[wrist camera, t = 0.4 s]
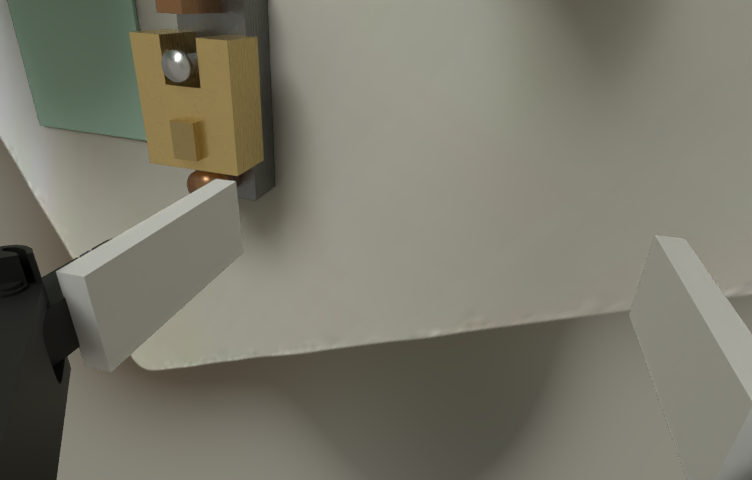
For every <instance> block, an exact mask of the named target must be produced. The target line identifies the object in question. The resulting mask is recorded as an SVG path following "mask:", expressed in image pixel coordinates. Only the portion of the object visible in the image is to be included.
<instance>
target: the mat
mask: <svg viewBox="0 0 752 480" xmlns="http://www.w3.org/2000/svg"><path fill="white" fill-rule="evenodd" d="M7 1H8V5H9V9H10V13H11V17H12V20H13V24H14V28H15V32H16V36H17V40H18V43H19V47H20V51H21V55H22V59H23V62H24V66H25V70H26V74H27V78H28V82H29V85H30V89H31V93H32V97H33V101H34V104H35V108H36V112H37V116H38V120H39V124H40V125H41V126H48V127H55V128H62V129H69V130H76V131H83V132H90V133H97V134H104V135H111V136H118V137H126V138H133V139H140V140H147V139H146V133H145V126H144V120H143V114H142V108H141V102H140V96H139V90H138V84H137V78H136V71H135V65H134V59H133V53H132V47H131V41H130V35H129V32H135V31H139V25H138V19H137V12H136V6H135V0H7Z"/></svg>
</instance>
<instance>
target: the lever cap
mask: <svg viewBox="0 0 752 480" xmlns="http://www.w3.org/2000/svg"><path fill="white" fill-rule="evenodd" d="M129 35H130V41H131V47H132V53H133V59H134V65H135V71H136V78H137V84H138V90H139V96H140V102H141V108H142V114H143V120H144V126H145V133H146V139H147V145H148V151H149V157H150V163H155V164H161V165H168V166H174V167H181V168H188V169H194V170H201V171H207V172H214V173H221V174H227V175H234V176H239V175H240V174H242V173H244V172H245V171H247V170H249V169H250V168H252V167H253V166H255V165H257V164H258V163H260V162H262V161H263V160H264V153H263V134H262V115H261V96H260V77H259V58H258V39H257V37H255V36H243V35H231V34H226V35H217V36H208V37H198V38H196V36H195V31H185V30H173V29H162V30H149V31H135V32H129ZM170 50H181V51H183V52H185V53H186V54H191V53H197V57H198V67H199V72H197V73H192V76H191V77H190V79H188V80H187V81H183V82H173V81H171V80H170V79H168V78H167V77H166V75H165V74H164V72H163V70H162V66H161V59H162V56H163V54H164V53H165V52H167V51H170Z"/></svg>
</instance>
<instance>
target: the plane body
mask: <svg viewBox="0 0 752 480" xmlns="http://www.w3.org/2000/svg"><path fill="white" fill-rule="evenodd" d="M155 1H156V8H157V12H160V13H173V14H177V21H178V29H179V30H185V31H195V36H196V38H198V37H208V36H217V35H226V34H231V35H243V36H255V37H257V39H258V58H259V77H260V96H261V115H262V134H263V153H264V160H263V161H262V162H260V163H258V164H257V165H255V166H253V167H252V168H250V169H249V170H247V171H245V172H244V173H242V174H240V175H239V176H234V175H227V174H221V173H214V172H207V171H201V170H195V172H193V173H192V174H191V175H190V176H189V177H188V180H187V187H188V191H189V193H190V194H191V193H192V192H194V191H196V190H198V189H199V188H201V187H203V186H204V185H206V184H208V183H210V182H211V181H213V180H215V179H221V180H229V181H236V186H237V196H238V198H242V199H248V200H255V201H256V200H258V199H259V198H260V197H262V196H263V195H264V194H266V193H267V192H268V191H270V190H271V189H272V188H274V187H275V169H274V145H273V122H272V98H271V75H270V51H269V27H268V4H267V0H155ZM161 66H162V70H163V72H164V74H165V75H166V77H167V78H168V79H170V80H171V81H173V82H183V81H187V80H188V79H190V77H191V76H192V73H197V72H199V67H198V57H197V53H191V54H186V53H185V52H183V51H181V50H170V51H167V52H165V53H164V54H163V56H162V59H161Z"/></svg>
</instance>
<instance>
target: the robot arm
mask: <svg viewBox="0 0 752 480" xmlns="http://www.w3.org/2000/svg"><path fill="white" fill-rule="evenodd" d="M242 253H243V243H242V234H241V224H240V215H239V205H238V196H237V186H236V181H229V180H221V179H215V180H213V181H211V182H210V183H208V184H206V185H204V186H203V187H201V188H199V189H198V190H196V191H194V192H192V193H191V194H189V195H187V196H185V197H184V198H182V199H180V200H179V201H177V202H175V203H173V204H172V205H170V206H168V207H166V208H165V209H163V210H161V211H159V212H158V213H156V214H154V215H153V216H151V217H149V218H147V219H146V220H144V221H142V222H140V223H139V224H137V225H135V226H134V227H132V228H130V229H128V230H127V231H125V232H123V233H121V234H120V235H118V236H116V237H115V238H112V239H109V240H106V241H105V242H103V243H101V244H99V245H98V246H96V247H94V248H93V249H92V251H87V252H86V253H84V254H82V255H80V258H75V259H73V260H72V261H70V262H68V263H66V264H65V265H63V266H61V267H59V268H58V269H56V270H54V271H52V272H51V273H49V274H47V275H46V276H44V277H42V278H41V275H40V272H39V269H38V266H37V262H36V260H35V257H34V254H33V250H32V248H30V247H27V246H23V245H8V246H1V247H0V480H56V478H57V471H58V463H59V456H60V447H61V440H62V433H63V432H62V431H63V425H64V417H65V409H66V402H67V394H68V386H69V378H70V370H71V367H70V363H69V360H68V357H67V356H68V355H69V354H71V353H72V352H73V351H75V350H76V349H77V348H78V347H79V348H80V352H81V355H82V358H83V361H84V365H85V366H87V367H91V368H95V369H99V370H103V371H108V372H112V371H113V370H114V369H115V368H116V367H117V366H118V365H119V364H120V363H122V362H123V361H124V360H125V359H126V358H127V357H128V356H129V355H130V354H132V353H133V352H134V351H135V350H136V349H137V348H138V347H139V346H140V345H141V344H143V343H144V342H145V341H146V340H147V339H148V338H149V337H150V336H151V335H153V334H154V333H155V332H156V331H157V330H158V329H159V328H160V327H161V326H163V325H164V324H165V323H166V322H167V321H168V320H169V319H170V318H171V317H173V316H174V315H175V314H176V313H177V312H178V311H179V310H180V309H181V308H182V307H184V306H185V305H186V304H187V303H188V302H189V301H190V300H191V299H192V298H194V297H195V296H196V295H197V294H198V293H199V292H200V291H201V290H202V289H204V288H205V287H206V286H207V285H208V284H209V283H210V282H211V281H212V280H214V279H215V278H216V277H217V276H218V275H219V274H220V273H221V272H222V271H224V270H225V269H226V268H227V267H228V266H229V265H230V264H231V263H232V262H233V261H235V260H236V259H237V258H238V257H239V256H240V255H241V254H242ZM629 316H630V319H631V322H632V325H633V328H634V331H635V333H636V337H637V339H638V342H639V345H640V348H641V351H642V353H643V357H644V359H645V362H646V365H647V368H648V371H649V374H650V377H651V379H652V382H653V385H654V388H655V391H656V393H657V396H658V399H659V402H660V405H661V408H662V411H663V414H664V417H665V419H666V422H667V425H668V428H669V431H670V434H671V436H672V439H673V442H674V445H675V448H676V451H677V454H678V457H679V459H680V462H681V465H682V468H683V471H684V474H685V476H686V479H687V480H752V334H751V333H750V331H749V330H748V328H747V327H746V325H745V324H744V322H743V321H742V320H741V318H740V317H739V315H738V314H737V312H736V311H735V310H734V308H733V307H732V305H731V304H730V302H729V301H728V300H727V298H726V297H725V295H724V294H723V292H722V291H721V290H720V288H719V287H718V285H717V284H716V282H715V281H714V280H713V278H712V277H711V275H710V274H709V272H708V271H707V270H706V268H705V267H704V265H703V264H702V262H701V261H700V260H699V258H698V257H697V255H696V254H695V252H694V251H693V250H692V248H691V247H690V245H689V244H688V242H687V241H686V240H685V239H683V238H676V237H668V236H660V235H655V236H654V239H653V242H652V245H651V249H650V252H649V255H648V258H647V261H646V264H645V267H644V270H643V273H642V277H641V280H640V283H639V286H638V289H637V292H636V295H635V298H634V301H633V304H632V308H631V311H630V314H629Z"/></svg>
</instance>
